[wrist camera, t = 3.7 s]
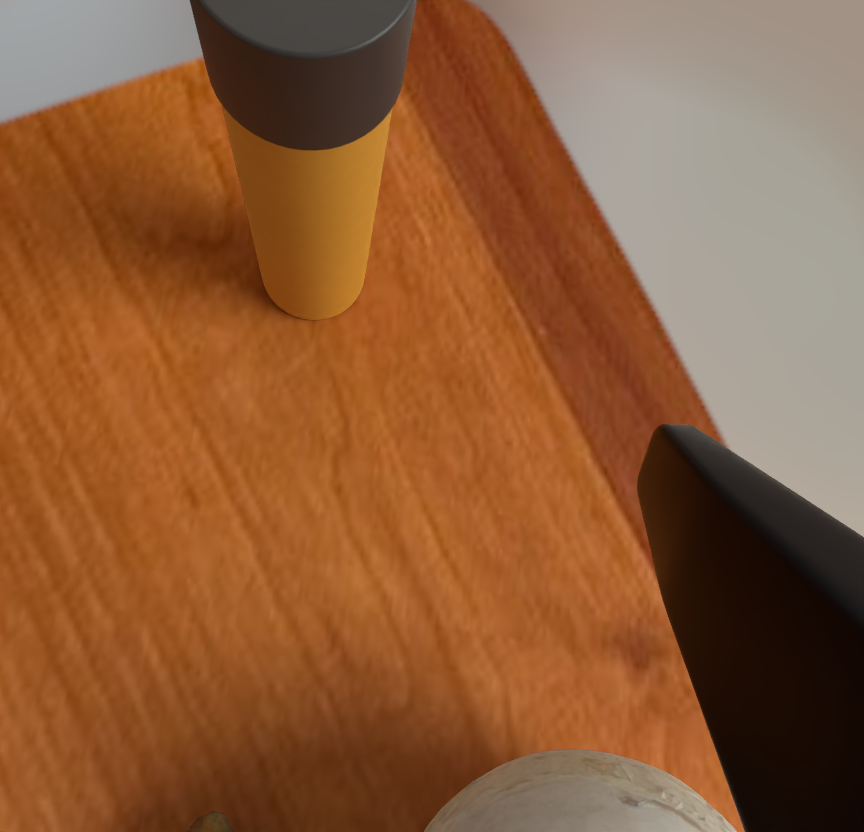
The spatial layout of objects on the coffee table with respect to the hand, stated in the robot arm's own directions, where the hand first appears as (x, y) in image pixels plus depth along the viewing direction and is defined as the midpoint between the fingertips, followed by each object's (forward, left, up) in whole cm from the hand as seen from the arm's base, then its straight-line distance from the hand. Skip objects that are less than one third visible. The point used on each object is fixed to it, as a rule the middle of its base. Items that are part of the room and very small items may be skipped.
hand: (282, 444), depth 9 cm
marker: (+4, -5, -13) cm, 14 cm away
